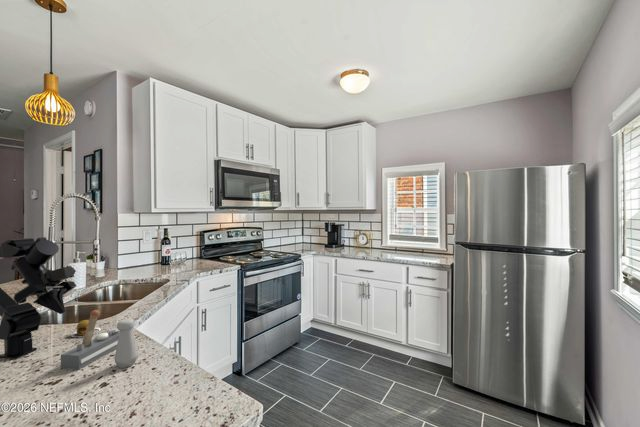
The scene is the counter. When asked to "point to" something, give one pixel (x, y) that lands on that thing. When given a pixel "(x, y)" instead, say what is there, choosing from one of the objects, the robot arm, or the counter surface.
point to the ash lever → (90, 327)
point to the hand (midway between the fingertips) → (62, 312)
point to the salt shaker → (126, 344)
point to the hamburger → (82, 328)
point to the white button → (102, 336)
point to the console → (89, 352)
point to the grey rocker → (113, 330)
